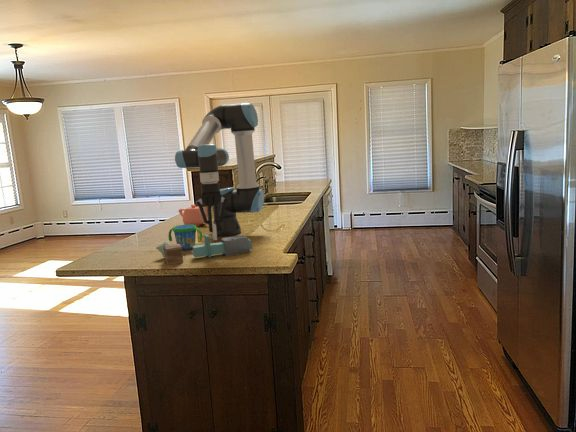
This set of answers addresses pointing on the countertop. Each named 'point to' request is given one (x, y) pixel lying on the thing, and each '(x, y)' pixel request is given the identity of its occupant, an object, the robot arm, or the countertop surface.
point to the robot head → (162, 248)
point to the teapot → (192, 216)
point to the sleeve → (236, 245)
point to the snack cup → (185, 235)
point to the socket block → (173, 254)
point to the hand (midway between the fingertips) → (214, 239)
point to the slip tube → (211, 248)
